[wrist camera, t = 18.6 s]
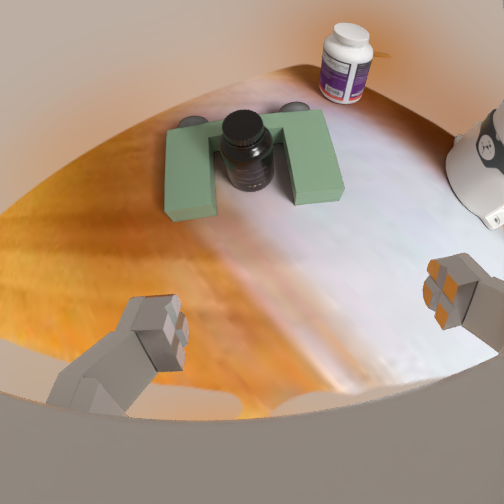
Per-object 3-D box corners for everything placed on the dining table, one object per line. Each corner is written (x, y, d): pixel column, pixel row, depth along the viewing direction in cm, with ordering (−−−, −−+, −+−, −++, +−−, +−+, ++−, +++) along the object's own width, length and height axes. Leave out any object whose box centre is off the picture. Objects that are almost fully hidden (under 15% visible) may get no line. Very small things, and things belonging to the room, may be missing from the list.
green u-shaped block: (317, 120, 44) (320, 100, 40) (339, 200, 41) (346, 184, 36) (174, 139, 46) (165, 121, 41) (173, 222, 42) (161, 208, 37)
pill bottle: (355, 78, 47) (368, 21, 33) (366, 107, 45) (385, 47, 31) (314, 77, 47) (320, 17, 33) (322, 106, 45) (332, 42, 31)
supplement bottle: (224, 160, 44) (209, 109, 32) (268, 150, 44) (264, 97, 32) (233, 199, 42) (218, 153, 30) (279, 188, 42) (279, 139, 30)
